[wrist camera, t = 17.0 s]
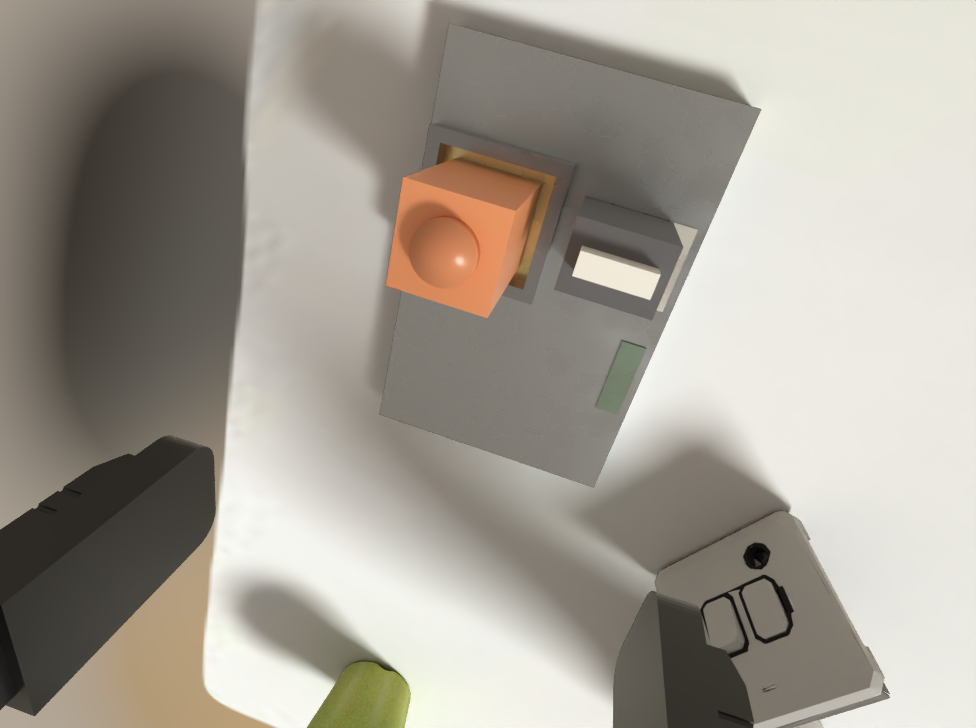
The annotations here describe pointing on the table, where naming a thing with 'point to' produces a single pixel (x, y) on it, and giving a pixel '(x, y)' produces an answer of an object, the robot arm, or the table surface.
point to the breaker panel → (556, 248)
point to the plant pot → (365, 699)
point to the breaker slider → (619, 258)
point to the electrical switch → (778, 623)
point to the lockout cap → (461, 233)
